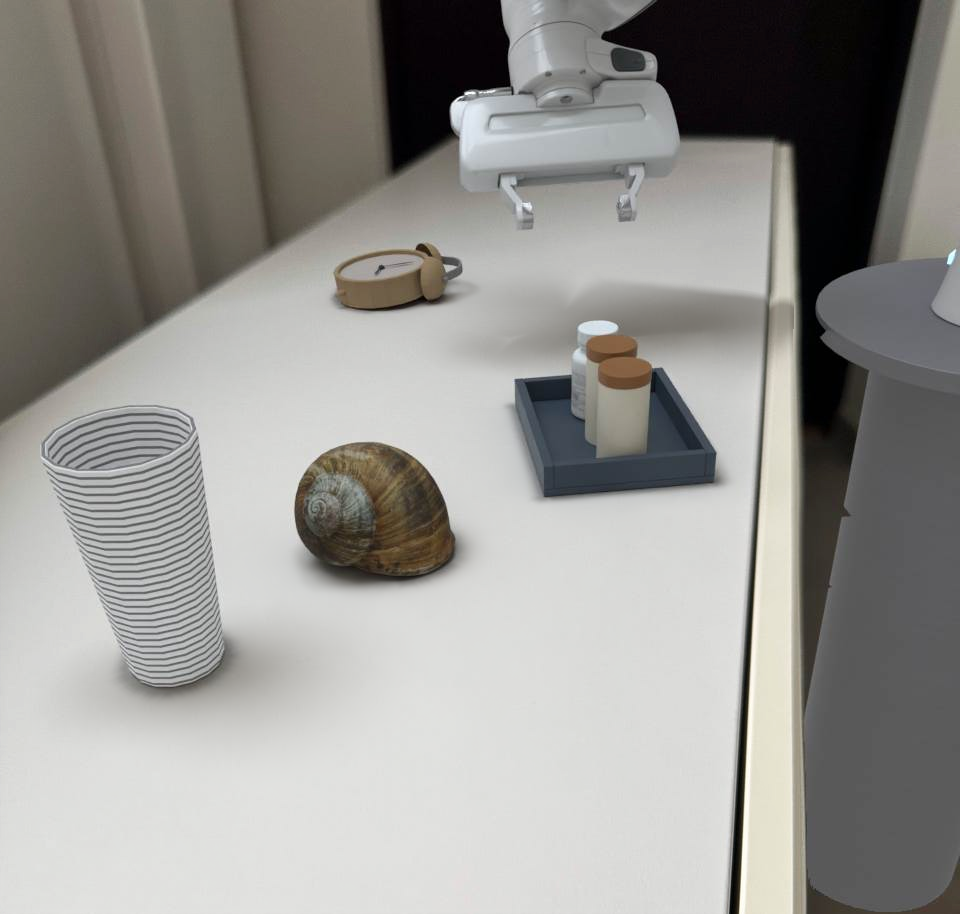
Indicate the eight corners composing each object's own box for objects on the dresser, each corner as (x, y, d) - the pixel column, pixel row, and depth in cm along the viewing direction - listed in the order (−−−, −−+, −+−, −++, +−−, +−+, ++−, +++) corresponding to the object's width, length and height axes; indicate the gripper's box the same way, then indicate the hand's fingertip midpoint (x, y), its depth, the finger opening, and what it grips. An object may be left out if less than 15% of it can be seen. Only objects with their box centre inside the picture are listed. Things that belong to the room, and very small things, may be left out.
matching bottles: (627, 425, 91) (631, 332, 86) (651, 473, 84) (657, 374, 79) (580, 428, 91) (581, 336, 86) (600, 477, 83) (603, 379, 79)
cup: (94, 648, 68) (24, 427, 59) (219, 607, 72) (171, 392, 63) (129, 719, 62) (57, 486, 53) (264, 671, 66) (218, 443, 57)
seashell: (278, 575, 75) (260, 473, 70) (334, 512, 82) (321, 416, 77) (426, 598, 72) (417, 493, 67) (471, 530, 79) (466, 432, 74)
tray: (660, 394, 97) (662, 367, 96) (713, 482, 83) (717, 452, 82) (515, 405, 97) (514, 378, 95) (543, 496, 82) (543, 466, 81)
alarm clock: (330, 258, 126) (451, 226, 125) (342, 298, 129) (461, 267, 128) (330, 288, 117) (461, 253, 116) (343, 330, 120) (471, 297, 119)
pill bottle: (607, 426, 91) (610, 339, 86) (562, 417, 93) (563, 331, 88) (629, 407, 94) (633, 322, 89) (585, 399, 96) (586, 315, 91)
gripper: (447, 69, 94) (463, 212, 92) (673, 53, 95) (693, 193, 93) (447, 115, 100) (462, 249, 98) (658, 99, 101) (678, 232, 99)
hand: (576, 222), depth 95 cm, fingers open, 8 cm apart
